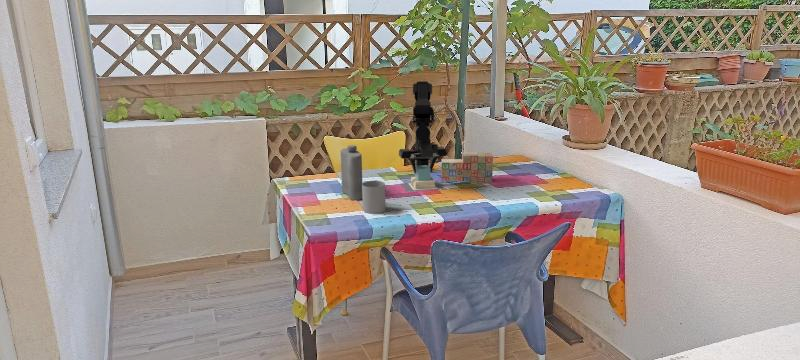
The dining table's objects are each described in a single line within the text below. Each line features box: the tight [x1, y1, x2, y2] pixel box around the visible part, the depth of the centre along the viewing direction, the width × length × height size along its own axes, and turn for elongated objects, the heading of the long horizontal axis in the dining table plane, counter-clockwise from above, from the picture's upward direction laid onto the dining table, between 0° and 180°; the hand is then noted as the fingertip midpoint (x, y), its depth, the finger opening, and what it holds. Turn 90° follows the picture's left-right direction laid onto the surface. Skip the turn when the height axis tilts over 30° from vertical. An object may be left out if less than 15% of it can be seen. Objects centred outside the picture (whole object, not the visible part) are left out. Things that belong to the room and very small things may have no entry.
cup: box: [362, 180, 387, 215], centre depth 211 cm, size 8×8×10 cm
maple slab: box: [410, 176, 436, 189], centre depth 237 cm, size 8×8×3 cm
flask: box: [339, 144, 363, 201], centre depth 228 cm, size 15×6×20 cm, turn 23°
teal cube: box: [414, 165, 431, 181], centre depth 236 cm, size 5×5×5 cm
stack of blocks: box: [440, 151, 494, 185], centre depth 245 cm, size 21×6×12 cm, turn 85°
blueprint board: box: [400, 180, 446, 193], centre depth 238 cm, size 12×16×1 cm
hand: (422, 173), depth 236 cm, fingers open, 6 cm apart
